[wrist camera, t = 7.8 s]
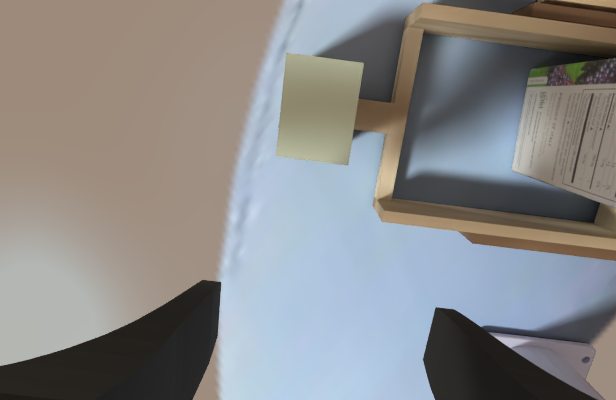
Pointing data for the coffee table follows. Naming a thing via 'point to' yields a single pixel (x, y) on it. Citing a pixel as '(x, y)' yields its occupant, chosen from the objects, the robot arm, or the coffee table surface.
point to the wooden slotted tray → (392, 116)
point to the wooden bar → (585, 4)
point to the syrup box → (571, 129)
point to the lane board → (572, 17)
